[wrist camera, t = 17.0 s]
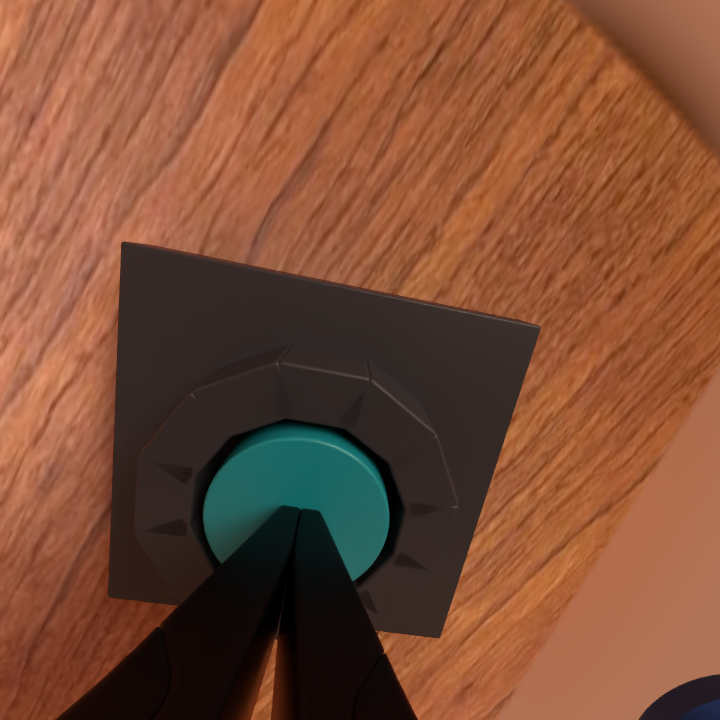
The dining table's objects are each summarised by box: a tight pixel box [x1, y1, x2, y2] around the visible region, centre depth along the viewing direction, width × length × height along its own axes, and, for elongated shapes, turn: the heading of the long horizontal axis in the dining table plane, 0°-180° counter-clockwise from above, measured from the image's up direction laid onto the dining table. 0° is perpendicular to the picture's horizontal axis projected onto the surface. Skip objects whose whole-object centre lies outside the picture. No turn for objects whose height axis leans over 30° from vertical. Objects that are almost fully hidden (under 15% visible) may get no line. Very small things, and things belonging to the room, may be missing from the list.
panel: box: [108, 242, 541, 640], centre depth 9 cm, size 10×10×3 cm
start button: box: [203, 419, 390, 591], centre depth 8 cm, size 4×4×2 cm
